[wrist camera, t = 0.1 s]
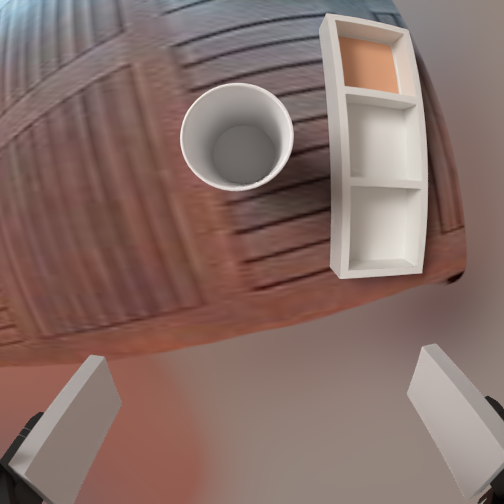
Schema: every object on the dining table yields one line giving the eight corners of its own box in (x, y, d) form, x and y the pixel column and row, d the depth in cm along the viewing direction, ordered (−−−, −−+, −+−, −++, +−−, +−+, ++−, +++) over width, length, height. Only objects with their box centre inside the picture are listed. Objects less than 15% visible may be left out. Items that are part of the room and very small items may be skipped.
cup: (229, 113, 33) (211, 67, 18) (287, 140, 34) (313, 111, 18) (200, 170, 35) (161, 163, 19) (258, 197, 36) (262, 210, 20)
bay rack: (318, 30, 30) (326, 13, 25) (395, 42, 29) (410, 30, 25) (329, 266, 38) (340, 278, 33) (406, 262, 38) (423, 273, 33)
